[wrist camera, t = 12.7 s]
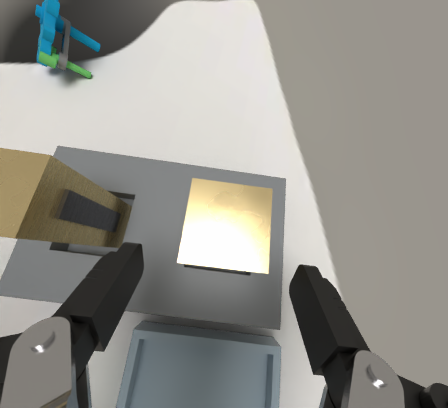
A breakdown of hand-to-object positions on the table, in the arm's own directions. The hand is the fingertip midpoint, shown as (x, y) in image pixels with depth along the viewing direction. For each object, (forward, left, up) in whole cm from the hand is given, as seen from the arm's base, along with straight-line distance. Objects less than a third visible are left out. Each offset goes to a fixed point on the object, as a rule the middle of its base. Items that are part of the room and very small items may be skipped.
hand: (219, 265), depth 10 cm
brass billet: (0, +2, -8) cm, 9 cm away
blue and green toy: (-22, +23, -10) cm, 33 cm away
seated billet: (-11, +2, -8) cm, 14 cm away
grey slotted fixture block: (-5, +2, -9) cm, 11 cm away
